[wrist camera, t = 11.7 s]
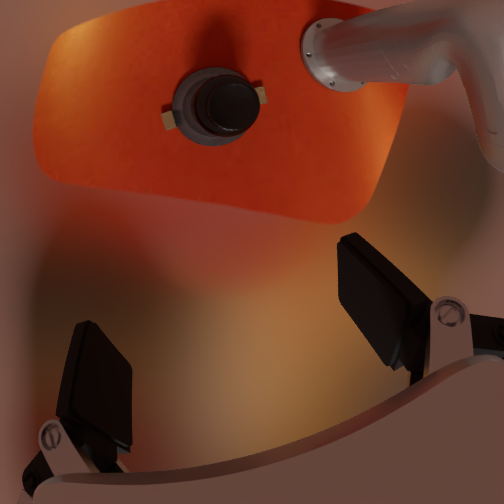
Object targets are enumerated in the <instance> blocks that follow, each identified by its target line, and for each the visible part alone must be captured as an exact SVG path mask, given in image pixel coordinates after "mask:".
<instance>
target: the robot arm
mask: <svg viewBox="0 0 504 504" xmlns="http://www.w3.org/2000/svg"><path fill="white" fill-rule="evenodd" d="M317 27H318V28H317ZM306 54H307V55H308V57H307V55H306ZM301 55H302V59H303V62H304V64H305V66H306V68H307V70H308V72H309V73H310V74H311V75H312V76H313V78H314V79H315V80H317V81H318V82H319V83H320V84H322V85H323V86H325V87H326V88H329V89H331V90H334V91H339V92H351V91H355V90H358V89H360V88H362V87H363V86H364V85H365V84H366V83H367V82H388V83H406V84H420V85H433V84H437V83H440V82H442V81H444V80H445V79H447V78H448V77H449V76H450V75H451V74H452V73H453V72H454V71H455V70H456V68H457V70H458V72H459V74H460V77H461V80H462V82H463V85H464V87H465V90H466V93H467V97H468V100H469V104H470V108H471V112H472V116H473V120H474V125H475V129H476V134H477V138H478V142H479V145H480V148H481V151H482V153H483V154H484V156H485V158H486V159H487V160H488V162H489V163H490V164H491V165H492V166H494V167H495V168H496V169H497V170H499V171H501V172H503V173H504V0H417V1H413V2H408V3H405V4H400V5H396V6H392V7H389V8H384V9H380V10H377V11H373V12H370V13H367V14H364V15H360V16H357V17H354V18H351V19H348V20H346V21H345V20H342V19H338V18H324V19H321V20H318V21H316V22H314V23H313V24H311V25H310V26H309V27H308V28H307V29H306V30H305V32H304V34H303V36H302V40H301ZM337 259H338V296H339V301H340V303H341V305H342V306H343V307H344V309H345V310H346V311H347V313H348V314H349V315H350V317H351V318H352V320H353V321H354V322H355V324H356V325H357V326H358V328H359V329H360V331H361V332H362V333H363V335H364V336H365V338H366V339H367V340H368V342H369V343H370V345H371V346H372V347H373V349H374V350H375V352H376V353H377V354H378V356H379V357H380V359H381V360H382V362H383V363H384V364H385V365H386V366H391V368H392V369H393V371H395V370H397V369H398V368H400V367H402V366H403V365H404V366H405V368H406V369H407V371H408V378H407V385H406V389H405V390H403V391H401V392H400V393H398V394H396V395H394V396H393V397H391V398H389V399H387V400H386V401H384V402H382V403H380V404H378V405H376V406H374V407H372V408H370V409H369V410H367V411H365V412H363V413H361V414H359V415H357V416H354V417H353V418H350V419H349V420H346V421H344V422H342V423H340V424H338V425H335V426H333V427H330V428H328V429H326V430H324V431H321V432H318V433H316V434H314V435H311V436H308V437H305V438H303V439H300V440H297V441H294V442H292V443H289V444H286V445H283V446H280V447H276V448H273V449H270V450H267V451H263V452H260V453H256V454H253V455H249V456H245V457H241V458H237V459H232V460H228V461H223V462H218V463H214V464H208V465H202V466H196V467H190V468H182V469H174V470H164V471H153V472H134V473H130V472H129V471H128V470H127V469H126V467H125V466H124V465H123V464H122V463H121V462H120V460H119V459H118V458H117V453H119V454H123V453H130V446H131V445H132V442H133V441H132V368H131V365H130V364H129V363H128V361H127V360H126V359H125V358H124V357H123V356H122V354H121V353H120V352H119V351H118V350H117V349H116V347H115V346H114V345H113V344H112V343H111V341H110V340H109V339H108V338H107V337H106V335H105V334H104V333H103V332H102V330H101V329H100V328H99V326H98V325H97V324H96V323H93V322H91V321H90V320H88V321H84V322H81V323H78V324H76V326H75V329H74V333H73V336H72V340H71V343H70V347H69V351H68V355H67V359H66V363H65V367H64V372H63V376H62V381H61V386H60V392H59V396H58V402H57V408H56V416H58V417H59V418H60V421H57V420H53V419H52V420H48V421H47V422H46V423H44V425H43V426H42V427H41V429H40V432H39V445H40V448H41V450H40V452H39V453H38V454H37V455H36V457H35V458H34V459H33V460H32V461H31V462H30V464H29V465H28V466H27V468H25V470H24V472H23V476H22V481H23V486H24V489H25V490H24V489H22V492H21V494H20V497H19V500H18V503H17V504H504V319H503V318H496V317H489V316H481V315H474V314H469V311H468V309H467V307H466V306H465V304H464V303H463V302H461V301H460V300H459V299H457V298H454V297H449V296H444V297H440V298H438V299H436V300H435V301H434V302H432V301H431V300H430V299H429V298H428V297H427V296H426V295H425V294H424V293H423V292H422V291H421V290H420V289H419V288H418V287H417V286H416V285H415V284H414V283H413V282H412V281H411V280H410V279H408V278H407V277H406V276H405V275H404V274H403V273H402V272H401V271H400V270H399V269H397V267H396V266H394V265H393V264H392V263H391V262H390V261H389V260H388V259H387V258H386V257H384V256H383V255H382V254H381V253H380V252H379V251H378V250H376V249H375V248H374V247H373V246H371V244H369V243H368V242H367V241H366V240H365V239H364V238H362V237H361V236H360V235H359V234H358V233H356V232H354V233H351V234H348V235H346V236H343V237H341V239H340V242H338V243H337Z"/></svg>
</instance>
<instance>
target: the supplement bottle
mask: <svg viewBox="0 0 504 504" xmlns="http://www.w3.org/2000/svg"><path fill="white" fill-rule="evenodd" d="M190 108H191V113H192V116H193V118H194V120H195V121H196V122H197V123H198V124H199V125H200V126H201V127H202V128H203V129H204V130H205V131H207V132H208V133H210V134H213V135H215V136H220V137H232V136H236V135H239V134H241V133H243V132H245V131H246V130H248V129H249V128H250V127H251V126H252V125H253V123H254V122H255V120H256V119H257V117H258V114H259V110H260V100H259V96H258V93H257V91H256V90H255V88H254V87H253V85H252V84H251V83H250V82H248V81H247V80H245V79H244V78H242V77H239V76H236V75H230V74H225V75H219V76H215V77H213V78H211V79H209V80H207V81H206V82H205V83H203V84H202V85H201V86H200V87H199V88H198V89H197V90H196V92H195V93H194V95H193V97H192V99H191V105H190Z"/></svg>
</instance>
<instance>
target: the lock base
mask: <svg viewBox="0 0 504 504" xmlns="http://www.w3.org/2000/svg"><path fill="white" fill-rule="evenodd" d="M225 74H230V75H236V76H239V77H242V78H244V77H243V76H241V75H240V74H238V73H237V72H235V71H233V70H230V69H227V68H221V67H211V68H205V69H202V70H199V71H197V72H195V73H193V74H191V75H190V76H189V77H187V78H186V79H185V80H184V81H183V82H182V83H181V85H180V86H179V87H178V89H177V91H176V93H175V96H174V99H173V106H172V110H171V111H168V112H165V113H162V114H161V116H162V119H163V122H164V126H165V129H166V131H167V130H170V129H172V128H175V127H178V128H179V130H180V131H181V132H182V133H183V134H184V135H185V136H186V137H187V138H188V139H190V140H192V141H193V142H195V143H198V144H201V145H206V146H220V145H225V144H228V143H230V142H232V141H235V140H236V139H238V138H239V137H241V136H242V135H243V134H244V133H245V132H246V131H247V130H246V131H245V132H243V133H241V134H239V135H236V136H232V137H220V136H215V135H213V134H210V133H208V132H207V131H205V130H204V129H203V128H202V127H201V126H200V125H199V124H198V123H197V122H196V121H195V120H194V118H193V116H192V113H191V108H190V105H191V99H192V97H193V95H194V93H195V92H196V90H197V89H198V88H199V87H200V86H201V85H202V84H203V83H205V82H206V81H207V80H209V79H211V78H213V77H215V76H219V75H225ZM244 79H245V78H244ZM245 80H246V79H245ZM255 90H256V91H257V93H258V96H259V100H260V104H264V103H268V102H267V98H266V94H265V89H264V86H263V87H258V88H255ZM172 111H173V113H172ZM176 125H177V126H176Z"/></svg>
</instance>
